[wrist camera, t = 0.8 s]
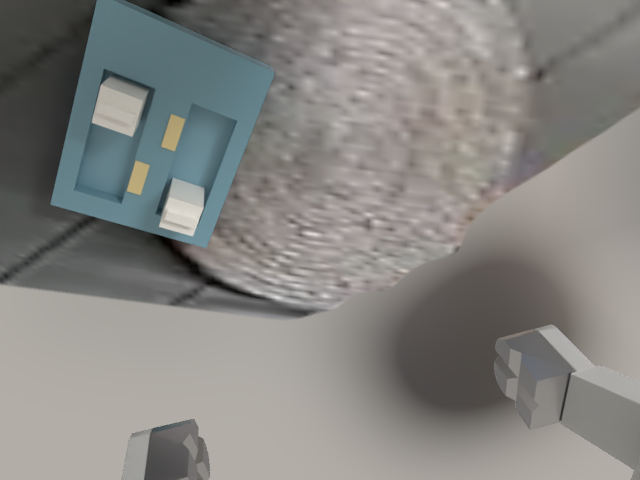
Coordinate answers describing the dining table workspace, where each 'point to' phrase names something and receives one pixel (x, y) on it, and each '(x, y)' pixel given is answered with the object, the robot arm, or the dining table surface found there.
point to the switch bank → (158, 121)
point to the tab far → (182, 207)
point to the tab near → (120, 105)
